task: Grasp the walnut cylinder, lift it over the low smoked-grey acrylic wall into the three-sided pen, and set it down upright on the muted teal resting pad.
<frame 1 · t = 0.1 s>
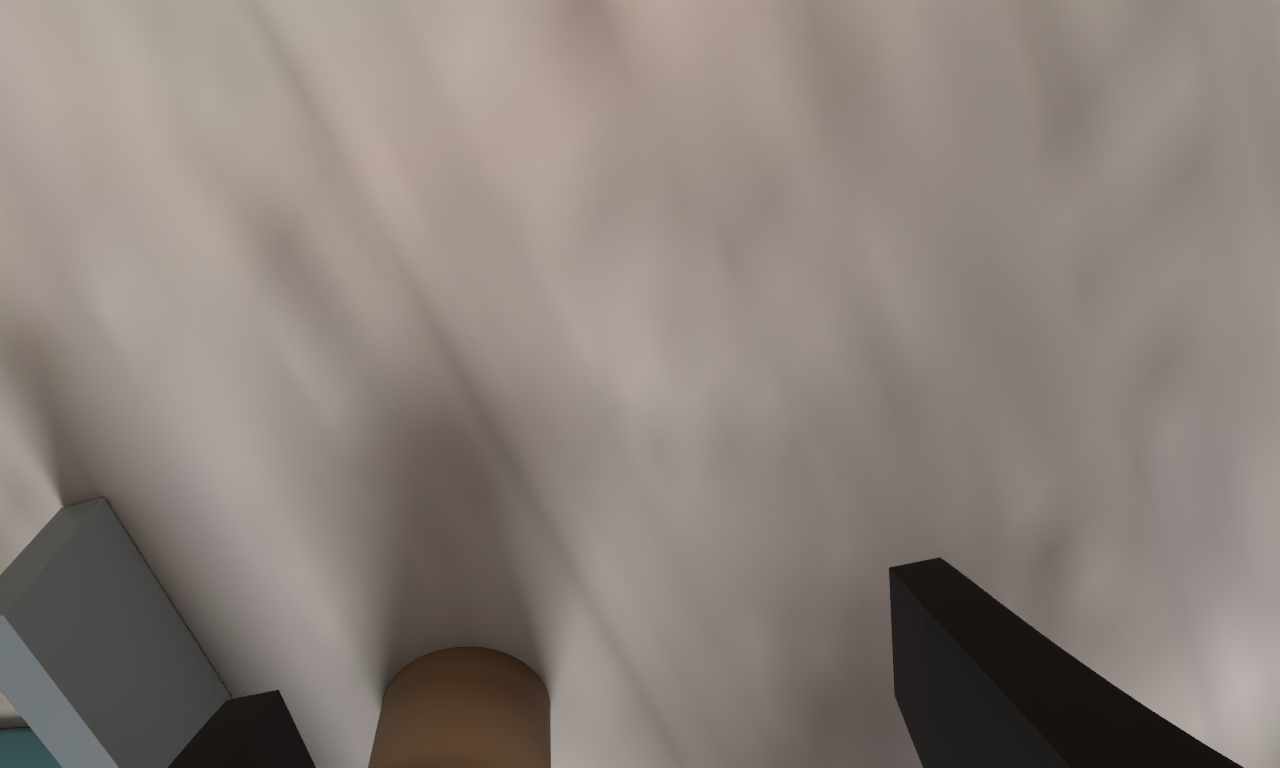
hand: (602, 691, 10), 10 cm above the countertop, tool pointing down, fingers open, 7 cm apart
walnut cylinder: (467, 710, 23), on the countertop
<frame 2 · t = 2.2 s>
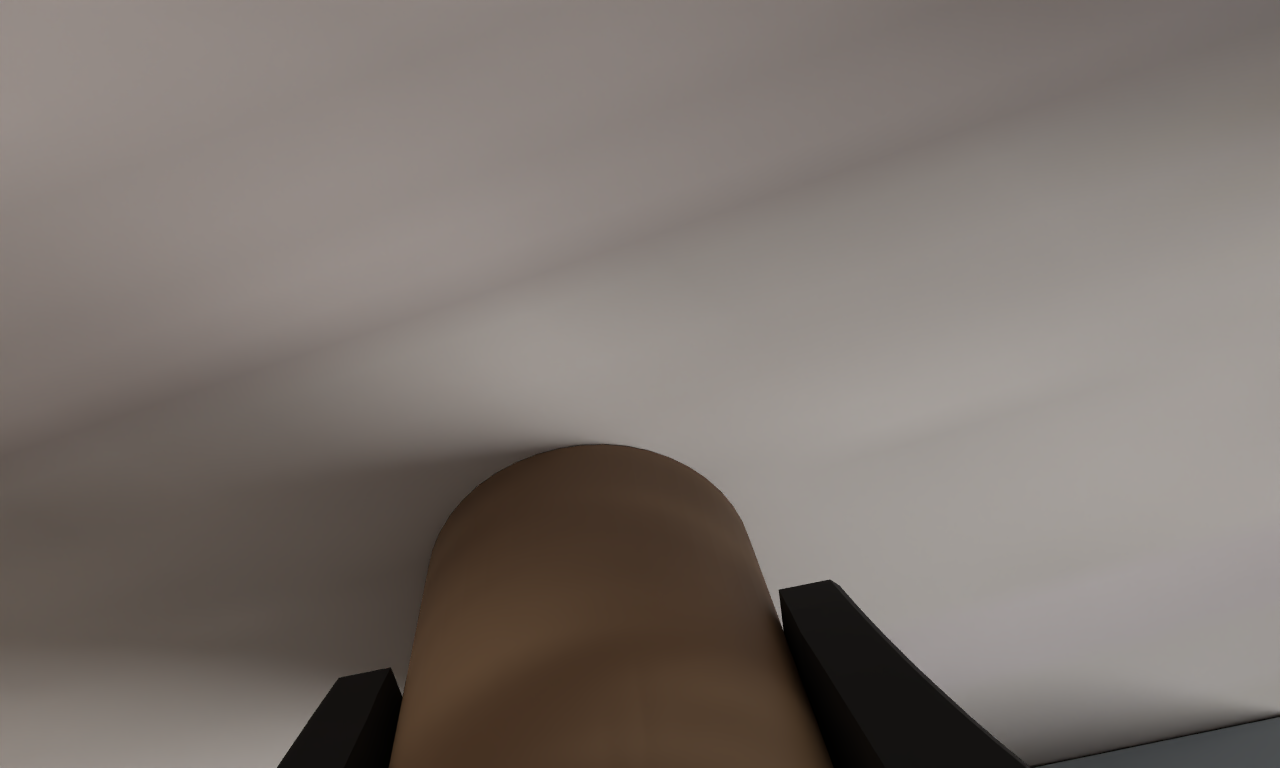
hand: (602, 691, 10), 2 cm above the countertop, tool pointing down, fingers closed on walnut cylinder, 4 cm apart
walnut cylinder: (593, 587, 12), on the countertop, touching gripper
when the fingers open (4 cm above the countertop, at t = 6.4 s): walnut cylinder drops 1 cm, resting on resting pad.
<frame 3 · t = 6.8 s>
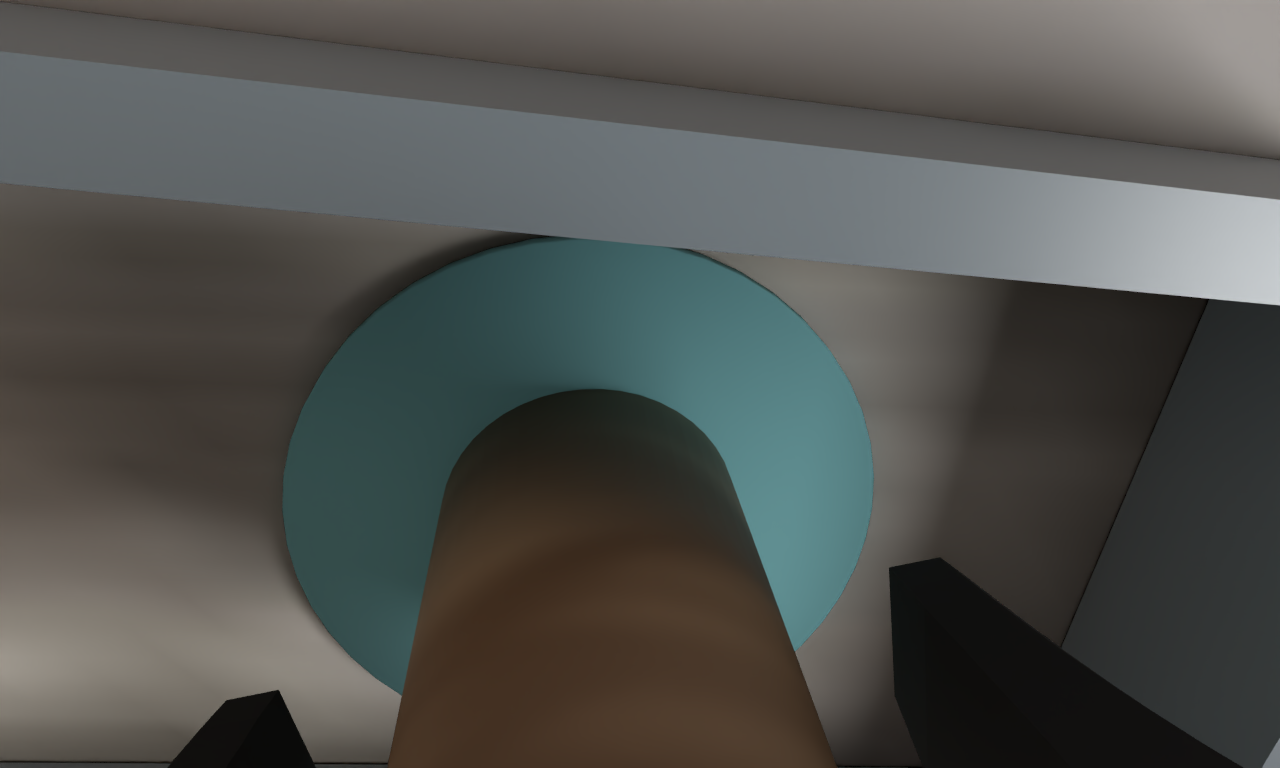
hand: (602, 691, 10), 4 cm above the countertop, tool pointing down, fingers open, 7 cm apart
resting pad: (587, 514, 13), resting in acrylic pen
acrylic pen: (587, 514, 13), on the countertop
walnut cylinder: (590, 521, 13), resting on resting pad
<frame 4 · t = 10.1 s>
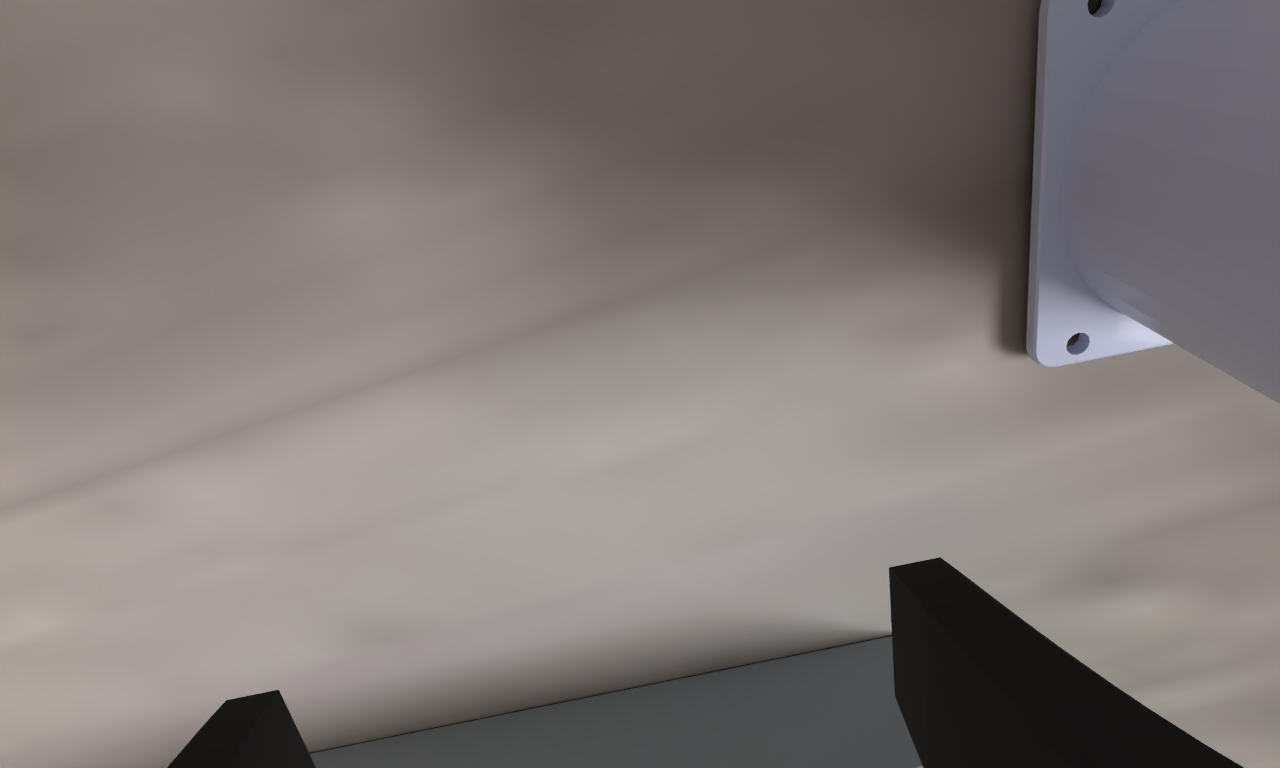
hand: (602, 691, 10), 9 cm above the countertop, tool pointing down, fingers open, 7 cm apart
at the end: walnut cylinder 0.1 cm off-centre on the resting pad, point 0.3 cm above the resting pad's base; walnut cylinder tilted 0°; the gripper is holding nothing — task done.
